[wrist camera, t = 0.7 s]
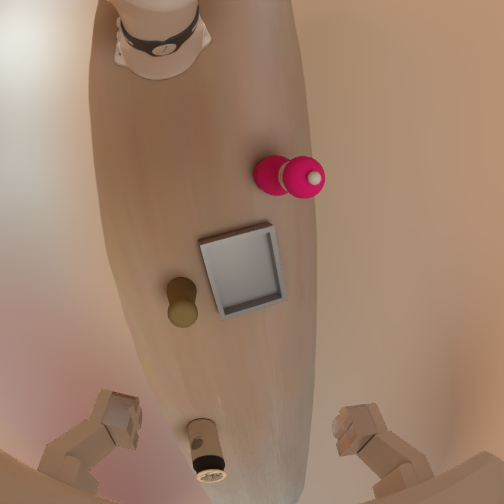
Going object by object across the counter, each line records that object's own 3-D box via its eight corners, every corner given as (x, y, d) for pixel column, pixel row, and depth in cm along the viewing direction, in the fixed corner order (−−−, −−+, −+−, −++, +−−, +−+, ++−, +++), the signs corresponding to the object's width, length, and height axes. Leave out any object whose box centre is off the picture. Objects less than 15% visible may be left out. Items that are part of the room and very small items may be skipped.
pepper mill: (281, 152, 52) (334, 145, 33) (290, 188, 54) (346, 198, 35) (246, 162, 51) (284, 157, 32) (256, 198, 53) (298, 213, 34)
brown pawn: (199, 300, 56) (205, 328, 46) (171, 307, 55) (171, 336, 44) (192, 273, 54) (195, 297, 44) (163, 281, 53) (160, 306, 43)
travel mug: (220, 428, 68) (232, 477, 51) (195, 436, 67) (204, 485, 50) (207, 414, 65) (219, 467, 49) (182, 423, 64) (189, 475, 48)
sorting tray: (198, 240, 52) (199, 245, 49) (268, 222, 55) (274, 225, 52) (219, 312, 58) (221, 320, 54) (281, 293, 60) (287, 300, 57)
